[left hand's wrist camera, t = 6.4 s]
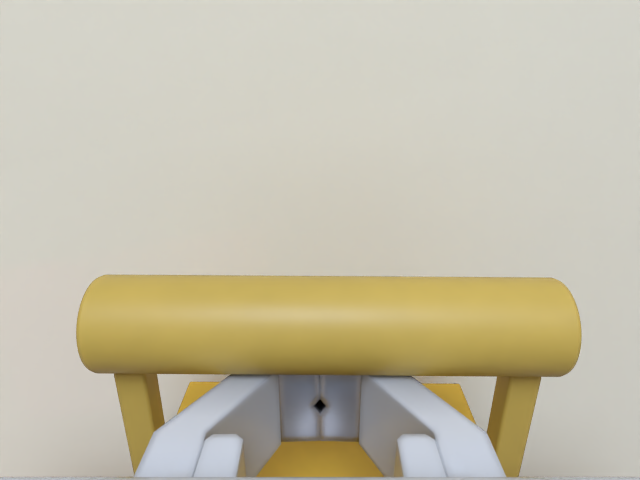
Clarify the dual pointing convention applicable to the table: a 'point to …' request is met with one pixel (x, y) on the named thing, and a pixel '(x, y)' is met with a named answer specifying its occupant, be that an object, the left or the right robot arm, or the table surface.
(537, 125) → the table surface
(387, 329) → the drawer
